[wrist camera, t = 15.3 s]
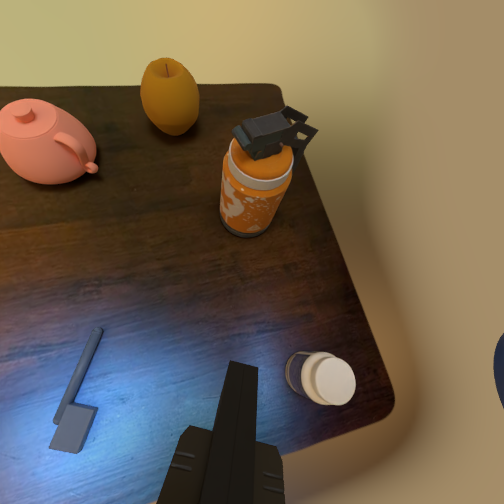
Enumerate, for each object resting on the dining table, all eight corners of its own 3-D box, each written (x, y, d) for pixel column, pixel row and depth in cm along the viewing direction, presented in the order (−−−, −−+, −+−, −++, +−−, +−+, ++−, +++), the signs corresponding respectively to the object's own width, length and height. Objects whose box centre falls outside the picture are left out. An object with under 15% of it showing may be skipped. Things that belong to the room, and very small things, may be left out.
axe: (96, 326, 34) (92, 326, 33) (127, 333, 34) (124, 333, 33) (45, 442, 29) (38, 446, 28) (81, 450, 29) (76, 454, 28)
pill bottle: (296, 402, 35) (328, 422, 25) (277, 362, 36) (300, 367, 27) (329, 381, 36) (370, 393, 27) (310, 343, 38) (342, 342, 29)
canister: (210, 204, 43) (211, 98, 25) (264, 183, 47) (300, 76, 28) (234, 247, 41) (254, 166, 23) (289, 222, 45) (345, 134, 26)
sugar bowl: (55, 122, 44) (14, 62, 35) (125, 156, 44) (103, 105, 35) (0, 171, 40) (-65, 116, 30) (79, 209, 40) (37, 166, 30)
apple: (209, 141, 48) (209, 81, 37) (159, 153, 46) (143, 93, 35) (191, 105, 51) (185, 39, 40) (142, 114, 48) (122, 47, 37)
